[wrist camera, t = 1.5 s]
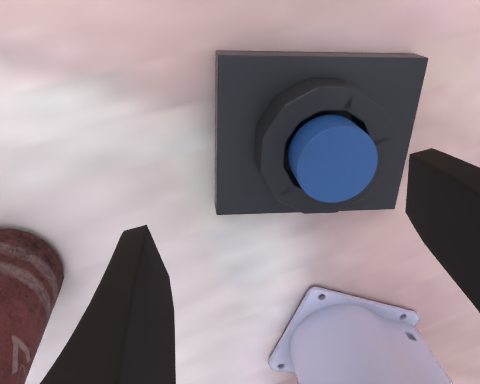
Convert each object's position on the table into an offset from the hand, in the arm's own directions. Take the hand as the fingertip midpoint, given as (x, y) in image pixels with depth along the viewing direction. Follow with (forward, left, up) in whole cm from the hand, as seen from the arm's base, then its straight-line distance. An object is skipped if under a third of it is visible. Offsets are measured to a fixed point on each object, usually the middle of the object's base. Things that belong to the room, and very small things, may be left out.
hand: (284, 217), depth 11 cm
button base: (-5, 0, -13) cm, 14 cm away
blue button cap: (-5, 0, -10) cm, 11 cm away
